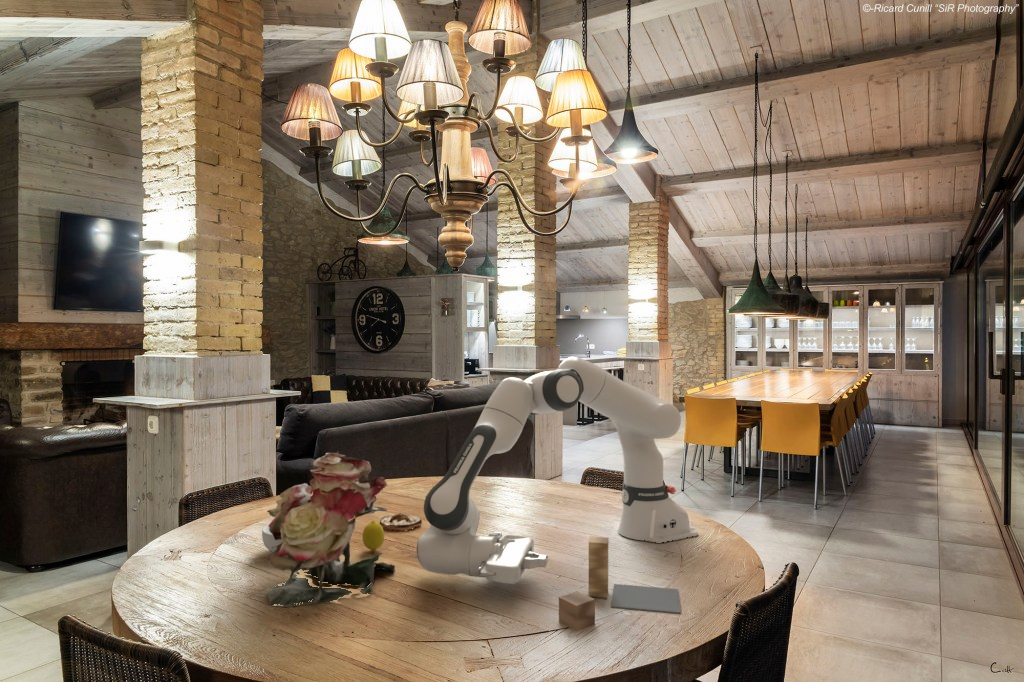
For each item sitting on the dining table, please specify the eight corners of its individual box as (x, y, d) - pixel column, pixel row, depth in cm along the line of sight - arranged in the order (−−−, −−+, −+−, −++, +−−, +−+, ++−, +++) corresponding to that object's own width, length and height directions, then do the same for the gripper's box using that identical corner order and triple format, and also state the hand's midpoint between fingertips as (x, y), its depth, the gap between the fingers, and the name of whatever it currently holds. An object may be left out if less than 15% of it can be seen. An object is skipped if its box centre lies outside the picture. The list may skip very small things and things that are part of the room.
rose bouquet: (282, 565, 155) (282, 443, 155) (401, 566, 154) (401, 444, 154) (234, 610, 129) (234, 464, 129) (375, 612, 129) (375, 465, 128)
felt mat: (611, 607, 131) (611, 606, 131) (613, 585, 143) (613, 583, 143) (680, 613, 128) (680, 612, 128) (677, 590, 140) (677, 589, 140)
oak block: (588, 597, 136) (588, 542, 136) (590, 590, 140) (590, 536, 140) (607, 599, 135) (607, 543, 135) (608, 591, 139) (608, 537, 139)
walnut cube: (577, 615, 127) (577, 590, 127) (594, 624, 123) (595, 599, 123) (558, 622, 124) (558, 597, 124) (576, 631, 120) (576, 605, 120)
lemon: (388, 549, 166) (388, 519, 166) (377, 556, 161) (377, 525, 161) (369, 547, 168) (369, 517, 168) (358, 553, 163) (358, 522, 163)
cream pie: (424, 518, 197) (424, 504, 197) (427, 533, 182) (427, 518, 182) (375, 520, 194) (375, 507, 194) (375, 536, 179) (375, 521, 179)
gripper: (474, 558, 132) (539, 563, 130) (496, 529, 152) (553, 533, 150) (474, 588, 133) (539, 594, 130) (496, 555, 153) (553, 559, 150)
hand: (547, 561), depth 140 cm, fingers closed
